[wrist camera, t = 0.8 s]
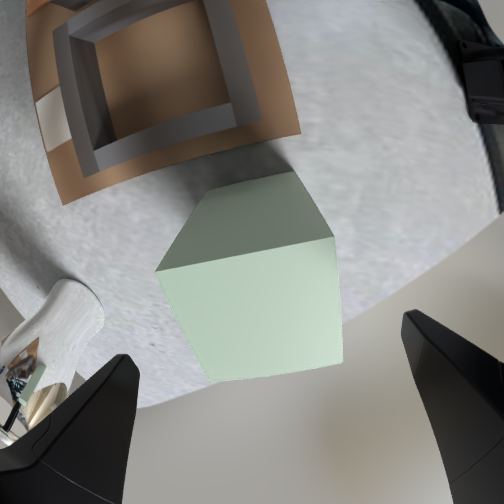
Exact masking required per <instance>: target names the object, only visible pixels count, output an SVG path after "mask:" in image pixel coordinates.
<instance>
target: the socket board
mask: <svg viewBox="0 0 504 504" xmlns="http://www.w3.org/2000/svg"><path fill="white" fill-rule="evenodd" d="M26 39H27V53H28V64H29V72H30V80H31V87H32V93H33V99H34V104H35V109H36V114H37V119H38V124H39V128H40V132H41V136H42V140H43V144H44V148H45V152H46V155H47V159H48V162H49V166H50V169H51V172H52V175H53V178H54V181H55V184H56V187H57V190H58V193H59V196H60V199H61V202H62V204H63V205H66V204H68V203H70V202H73V201H75V200H77V199H80V198H82V197H84V196H87V195H89V194H92V193H94V192H97V191H99V190H102V189H104V188H107V187H109V186H112V185H115V184H117V183H120V182H123V181H126V180H128V179H131V178H134V177H137V176H140V175H143V174H146V173H149V172H152V171H155V170H158V169H161V168H164V167H167V166H170V165H174V164H177V163H180V162H183V161H187V160H190V159H194V158H197V157H201V156H205V155H208V154H212V153H216V152H220V151H224V150H228V149H232V148H236V147H240V146H244V145H249V144H253V143H257V142H262V141H267V140H272V139H277V138H282V137H287V136H292V135H298V134H301V130H300V125H299V121H298V116H297V112H296V108H295V103H294V99H293V95H292V91H291V87H290V83H289V79H288V75H287V71H286V68H285V64H284V60H283V56H282V53H281V49H280V46H279V42H278V39H277V35H276V32H275V29H274V25H273V22H272V19H271V16H270V13H269V9H268V6H267V3H266V0H26Z"/></svg>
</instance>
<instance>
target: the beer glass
mask: <svg viewBox="0 0 504 504" xmlns="http://www.w3.org/2000/svg"><path fill="white" fill-rule="evenodd" d="M104 321H105V315H104V310H103V308H102V305H101V303H100V302H99V300H98V299H97V297H96V296H95V295H94V294H93V292H92V291H91V290H89V289H88V288H87V287H86V286H84V285H83V284H81V283H80V282H78V281H75V280H72V279H61V280H59V281H57V282H56V283H55V285H54V286H53V287H52V289H51V291H50V293H49V295H48V296H47V298H46V300H45V301H44V303H43V304H42V305H41V307H40V308H39V309H38V310H37V311H36V312H35V313H34V314H33V315H31V316H30V317H29V318H28V319H26V320H25V321H24V322H22V323H21V324H20V325H19V326H17V327H16V328H15V329H14V330H12V331H11V332H10V333H9V334H8V335H6V336H5V337H4V338H3V339H2V340H1V341H0V441H1V442H3V443H4V444H5V445H7V446H9V445H11V444H12V443H14V442H15V441H16V440H18V439H19V438H20V437H22V436H23V435H24V434H26V433H27V432H28V431H29V430H31V429H32V428H33V427H35V426H36V425H37V424H38V423H39V422H41V421H42V420H43V419H44V418H45V417H46V416H47V415H49V414H50V413H52V411H53V410H54V409H55V408H56V407H58V406H59V405H60V404H61V403H62V402H63V401H64V400H65V399H67V396H68V393H69V390H70V387H71V383H72V380H73V377H74V373H75V370H76V367H77V364H78V361H79V358H80V356H81V354H82V352H83V350H84V348H85V346H86V345H87V343H88V342H89V341H90V340H91V339H92V338H93V337H94V336H95V335H96V334H97V333H98V332H99V331H100V329H101V328H102V327H103V325H104Z"/></svg>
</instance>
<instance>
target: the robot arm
mask: <svg viewBox="0 0 504 504" xmlns="http://www.w3.org/2000/svg"><path fill="white" fill-rule="evenodd" d="M462 44H463V46H464V48H463V46H462ZM457 48H458V52H459V56H460V60H461V64H462V68H463V73H464V78H465V83H466V89H467V95H468V101H469V108H470V116H471V119H472V121H473V122H474V123H480V124H503V125H504V47H500V48H494V47H491V46H487V45H483V44H480V43H476V42H472V41H467V40H463V39H462V40H458V41H457ZM476 115H477V119H476ZM401 337H402V341H403V344H404V347H405V351H406V354H407V357H408V361H409V364H410V367H411V371H412V375H413V378H414V381H415V384H416V386H417V389H418V391H419V394H420V396H421V399H422V401H423V404H424V407H425V409H426V412H427V415H428V417H429V420H430V423H431V426H432V429H433V432H434V435H435V438H436V441H437V444H438V447H439V451H440V454H441V457H442V460H443V464H444V467H445V471H446V475H447V478H448V482H449V486H450V490H451V495H452V498H453V503H454V504H504V363H503V362H501V361H499V360H498V359H496V358H495V357H493V356H491V355H490V354H489V353H487V352H485V351H484V350H482V349H480V348H479V347H477V346H476V345H474V344H473V343H471V342H470V341H468V340H466V339H465V338H463V337H462V336H460V335H458V334H457V333H455V332H453V331H452V330H450V329H449V328H447V327H445V326H444V325H442V324H440V323H439V322H437V321H435V320H434V319H432V318H431V317H429V316H427V315H426V314H424V313H422V312H421V311H419V310H417V309H414V310H411V311H407V312H405V313H404V315H403V321H402V328H401ZM139 379H140V372H139V369H138V367H137V366H136V364H135V363H134V362H133V360H132V359H131V357H130V356H129V355H128V354H117V355H116V356H114V357H113V358H112V359H111V360H110V361H109V362H108V363H106V364H105V365H104V366H103V367H102V368H101V369H100V370H98V371H97V372H96V373H95V374H94V375H93V376H92V377H90V378H89V379H88V380H87V381H86V382H85V383H84V384H82V385H81V386H80V387H79V388H78V389H77V390H76V391H74V392H73V393H72V394H71V395H70V396H69V397H68V398H67V399H65V400H64V401H63V402H62V403H61V404H60V405H59V406H58V407H56V408H55V409H54V410H53V411H52V413H50V414H49V415H47V416H46V417H45V418H44V419H43V420H42V421H41V422H39V423H38V424H37V425H36V426H35V427H33V428H32V429H31V430H29V431H28V432H27V433H26V434H24V435H23V436H22V437H20V438H19V439H18V440H16V441H15V442H14V443H12V444H11V445H9V446H8V447H6V448H3V449H0V504H122V498H123V489H124V481H125V474H126V467H127V461H128V454H129V448H130V442H131V437H132V431H133V426H134V420H135V415H136V408H137V398H138V388H139Z"/></svg>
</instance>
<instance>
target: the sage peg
mask: <svg viewBox="0 0 504 504" xmlns="http://www.w3.org/2000/svg"><path fill="white" fill-rule="evenodd" d="M155 274H156V276H157V278H158V281H159V283H160V285H161V287H162V290H163V292H164V294H165V296H166V298H167V300H168V303H169V305H170V307H171V309H172V311H173V313H174V315H175V317H176V319H177V321H178V323H179V325H180V327H181V329H182V331H183V333H184V335H185V337H186V339H187V341H188V343H189V345H190V347H191V349H192V351H193V353H194V355H195V357H196V358H197V360H198V362H199V364H200V366H201V368H202V369H203V371H204V373H205V375H206V377H207V378H208V380H209V382H218V381H229V380H240V379H248V378H257V377H265V376H272V375H278V374H286V373H291V372H298V371H303V370H309V369H315V368H320V367H324V366H330V365H335V364H339V363H343V342H342V319H341V303H340V289H339V276H338V265H337V255H336V246H335V237H334V235H333V233H332V231H331V230H330V228H329V226H328V224H327V223H326V221H325V219H324V218H323V216H322V214H321V213H320V211H319V209H318V208H317V206H316V204H315V203H314V201H313V199H312V198H311V196H310V194H309V193H308V191H307V190H306V188H305V186H304V185H303V183H302V182H301V180H300V179H299V177H298V175H297V174H296V172H295V171H291V172H286V173H281V174H276V175H271V176H267V177H262V178H257V179H253V180H248V181H244V182H239V183H235V184H231V185H227V186H222V187H218V188H214V189H210V190H208V191H207V192H206V193H205V195H204V196H203V198H202V199H201V201H200V202H199V204H198V205H197V207H196V208H195V210H194V211H193V213H192V214H191V216H190V217H189V219H188V220H187V222H186V223H185V225H184V226H183V228H182V229H181V231H180V232H179V234H178V235H177V237H176V239H175V240H174V242H173V243H172V245H171V246H170V248H169V250H168V251H167V253H166V254H165V256H164V258H163V259H162V261H161V263H160V264H159V266H158V267H157V269H156V271H155Z"/></svg>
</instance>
